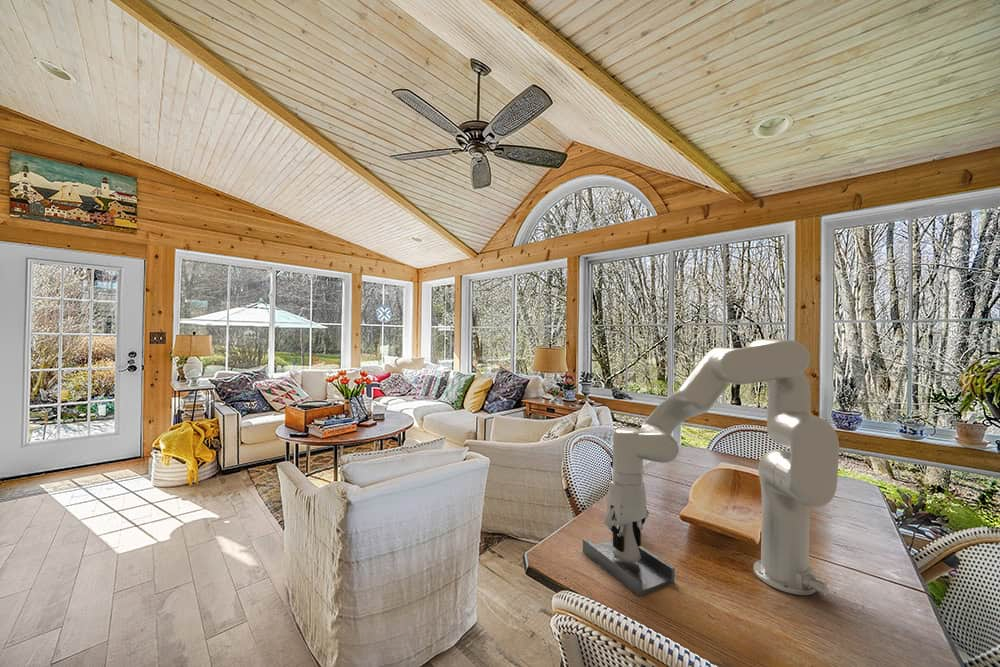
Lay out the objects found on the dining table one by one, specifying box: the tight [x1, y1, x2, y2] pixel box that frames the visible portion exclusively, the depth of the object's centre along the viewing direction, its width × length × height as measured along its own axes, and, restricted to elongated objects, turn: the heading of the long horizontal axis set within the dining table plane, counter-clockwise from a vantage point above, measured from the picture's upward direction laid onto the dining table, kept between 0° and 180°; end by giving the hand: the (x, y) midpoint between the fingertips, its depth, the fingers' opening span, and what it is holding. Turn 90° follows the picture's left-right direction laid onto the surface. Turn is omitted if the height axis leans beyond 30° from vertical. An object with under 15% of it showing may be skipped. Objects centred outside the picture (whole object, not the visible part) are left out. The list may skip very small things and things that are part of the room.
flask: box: [612, 522, 641, 563], centre depth 100 cm, size 7×7×10 cm
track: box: [582, 538, 676, 597], centre depth 100 cm, size 20×12×4 cm, turn 27°
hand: (626, 545), depth 100 cm, fingers closed on flask, 5 cm apart
